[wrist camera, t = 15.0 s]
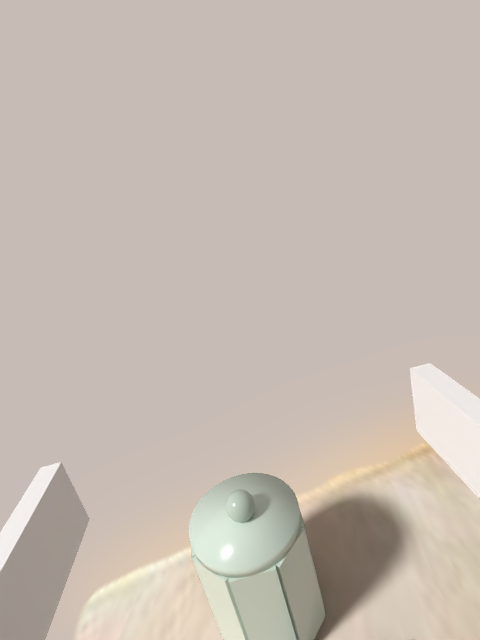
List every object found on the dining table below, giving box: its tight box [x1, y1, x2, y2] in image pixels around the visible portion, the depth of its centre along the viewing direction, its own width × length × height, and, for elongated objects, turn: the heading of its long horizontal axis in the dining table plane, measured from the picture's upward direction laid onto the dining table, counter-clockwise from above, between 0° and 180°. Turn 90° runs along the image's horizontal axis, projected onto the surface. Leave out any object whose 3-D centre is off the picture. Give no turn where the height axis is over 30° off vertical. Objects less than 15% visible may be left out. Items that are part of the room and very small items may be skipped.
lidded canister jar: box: [189, 473, 326, 640], centre depth 34 cm, size 10×10×14 cm
